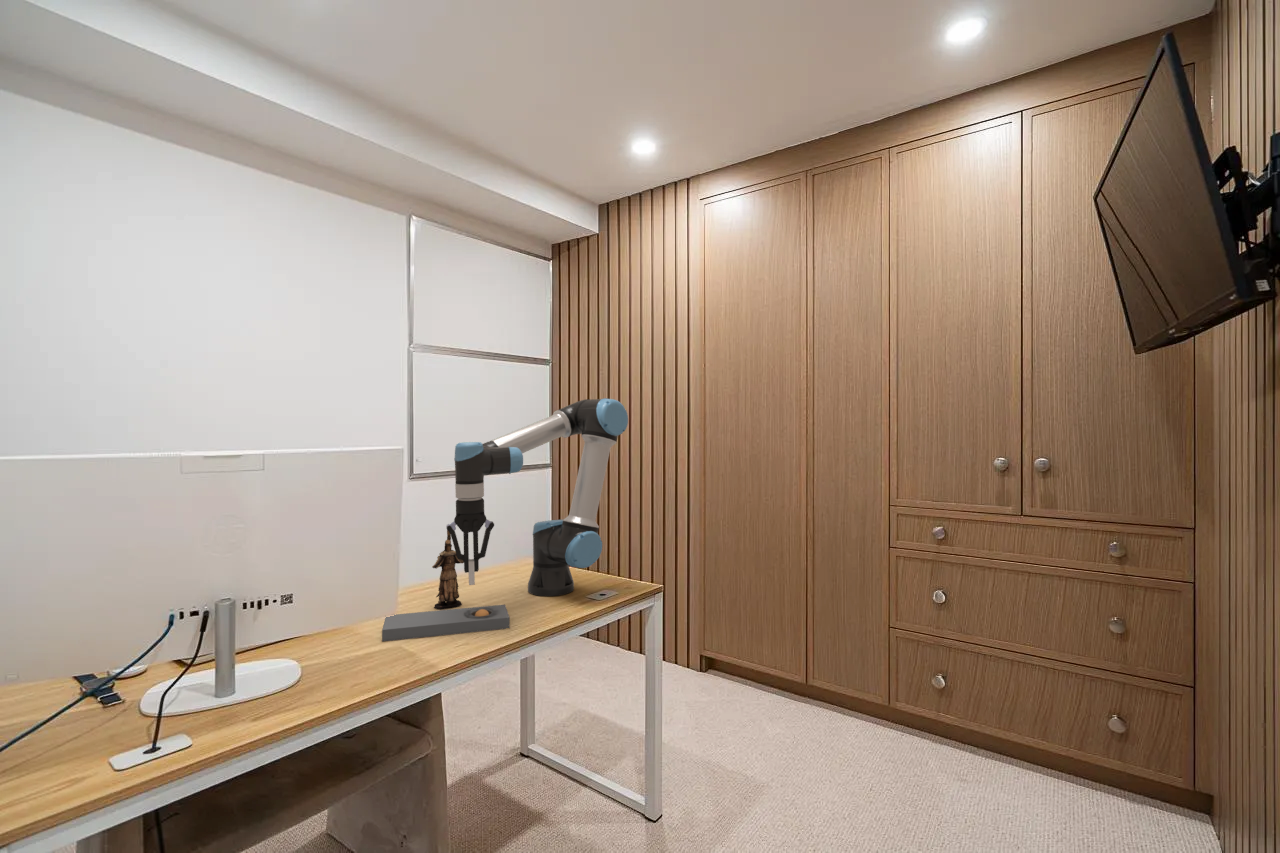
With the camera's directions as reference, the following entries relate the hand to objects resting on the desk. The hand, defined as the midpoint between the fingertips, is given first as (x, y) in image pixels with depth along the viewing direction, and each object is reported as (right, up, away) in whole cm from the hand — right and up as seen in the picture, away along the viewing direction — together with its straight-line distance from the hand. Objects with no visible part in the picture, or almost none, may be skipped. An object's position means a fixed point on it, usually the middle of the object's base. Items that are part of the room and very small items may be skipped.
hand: (471, 583), depth 169 cm
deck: (-6, -11, -2) cm, 13 cm away
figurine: (-12, -11, +16) cm, 23 cm away
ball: (+3, -9, +1) cm, 10 cm away
